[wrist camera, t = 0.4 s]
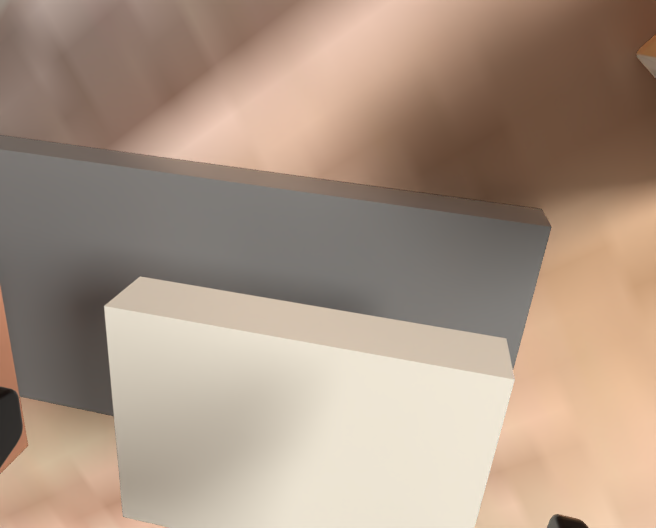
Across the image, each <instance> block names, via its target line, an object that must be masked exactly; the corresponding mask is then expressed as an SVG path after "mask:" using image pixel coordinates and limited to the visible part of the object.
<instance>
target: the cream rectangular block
mask: <svg viewBox="0 0 656 528" xmlns="http://www.w3.org/2000/svg"><path fill="white" fill-rule="evenodd" d="M104 311H105V323H106V334H107V345H108V356H109V367H110V378H111V389H112V401H113V412H114V423H115V434H116V445H117V456H118V468H119V479H120V490H121V501H122V512H123V517H126V518H130V519H135V520H139V521H143V522H147V523H152V524H156V525H160V526H164V527H169V528H475V524H476V520H477V517H478V513H479V509H480V506H481V502H482V498H483V495H484V491H485V487H486V484H487V480H488V476H489V473H490V469H491V465H492V461H493V458H494V454H495V450H496V447H497V443H498V439H499V436H500V432H501V428H502V425H503V421H504V417H505V414H506V410H507V406H508V403H509V399H510V395H511V392H512V388H513V384H514V381H515V378H514V373H513V368H512V364H511V359H510V354H509V349H508V344H507V339H506V338H501V337H495V336H489V335H483V334H477V333H471V332H465V331H459V330H454V329H448V328H442V327H436V326H430V325H424V324H418V323H412V322H406V321H400V320H395V319H389V318H383V317H377V316H371V315H365V314H359V313H353V312H347V311H341V310H336V309H330V308H324V307H318V306H312V305H306V304H300V303H294V302H288V301H282V300H276V299H271V298H265V297H259V296H253V295H247V294H241V293H235V292H229V291H223V290H217V289H212V288H206V287H200V286H194V285H188V284H182V283H176V282H170V281H164V280H158V279H153V278H147V277H141V276H140V277H139V278H138V279H136V280H135V281H134V282H133V283H131V284H130V285H129V286H128V287H127V288H125V289H124V290H123V291H122V292H120V293H119V294H118V295H117V296H116V297H114V298H113V299H112V300H111V301H110V302H108V303H107V304H106V305H105V306H104Z"/></svg>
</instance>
